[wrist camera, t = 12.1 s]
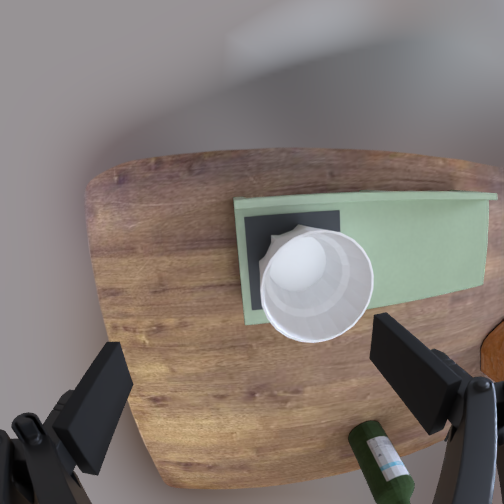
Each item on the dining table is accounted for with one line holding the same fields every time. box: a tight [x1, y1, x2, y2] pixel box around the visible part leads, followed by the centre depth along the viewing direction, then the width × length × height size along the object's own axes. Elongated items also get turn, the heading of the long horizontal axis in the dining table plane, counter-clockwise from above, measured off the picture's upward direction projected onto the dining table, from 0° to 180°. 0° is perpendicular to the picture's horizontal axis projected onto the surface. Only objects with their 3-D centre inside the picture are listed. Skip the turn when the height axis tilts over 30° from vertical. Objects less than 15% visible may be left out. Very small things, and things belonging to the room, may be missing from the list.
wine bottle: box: [348, 421, 415, 504], centre depth 38 cm, size 8×8×30 cm
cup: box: [259, 224, 374, 343], centre depth 29 cm, size 10×10×10 cm
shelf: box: [233, 190, 497, 325], centre depth 38 cm, size 39×15×11 cm, turn 94°
